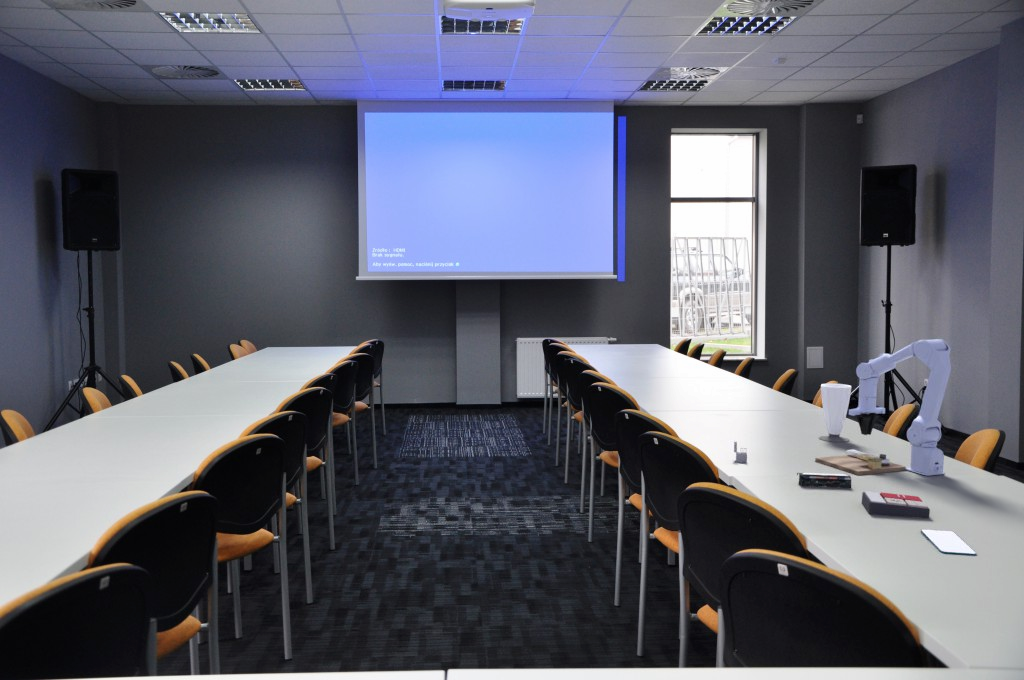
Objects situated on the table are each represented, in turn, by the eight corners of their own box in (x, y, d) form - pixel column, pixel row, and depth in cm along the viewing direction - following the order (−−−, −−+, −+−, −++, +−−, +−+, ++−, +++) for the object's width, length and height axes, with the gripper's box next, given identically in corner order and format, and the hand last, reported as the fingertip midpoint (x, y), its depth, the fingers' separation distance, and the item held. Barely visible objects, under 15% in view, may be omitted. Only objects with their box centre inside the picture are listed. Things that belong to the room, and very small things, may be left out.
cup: (820, 441, 307) (822, 386, 305) (816, 435, 318) (818, 382, 316) (852, 443, 304) (854, 387, 302) (846, 437, 315) (849, 384, 314)
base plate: (905, 470, 262) (906, 457, 261) (857, 475, 255) (858, 461, 255) (860, 457, 280) (861, 444, 280) (815, 461, 274) (815, 448, 274)
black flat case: (785, 481, 250) (785, 468, 249) (868, 484, 246) (868, 471, 246) (795, 493, 235) (795, 479, 235) (883, 497, 232) (883, 483, 231)
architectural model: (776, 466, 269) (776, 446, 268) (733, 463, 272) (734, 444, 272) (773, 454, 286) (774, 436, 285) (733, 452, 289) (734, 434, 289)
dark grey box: (930, 506, 209) (870, 499, 213) (929, 522, 210) (868, 515, 213) (919, 495, 220) (862, 489, 223) (918, 510, 220) (861, 503, 224)
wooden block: (881, 468, 259) (881, 458, 258) (872, 469, 258) (873, 459, 257) (865, 463, 265) (865, 454, 265) (856, 464, 264) (857, 454, 264)
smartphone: (977, 558, 182) (953, 534, 197) (978, 554, 182) (953, 531, 197) (940, 555, 183) (919, 532, 199) (941, 551, 183) (919, 528, 199)
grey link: (892, 464, 263) (892, 460, 263) (882, 465, 262) (882, 461, 262) (854, 453, 279) (854, 449, 279) (844, 454, 278) (844, 450, 278)
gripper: (875, 394, 284) (873, 430, 285) (843, 395, 279) (841, 433, 281) (890, 396, 278) (888, 434, 279) (857, 398, 273) (856, 437, 274)
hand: (866, 434), depth 279 cm, fingers closed
